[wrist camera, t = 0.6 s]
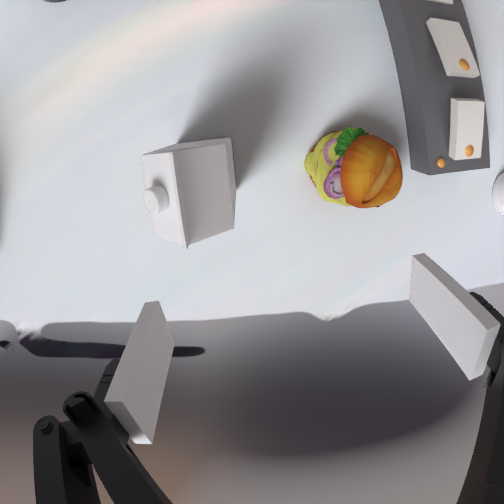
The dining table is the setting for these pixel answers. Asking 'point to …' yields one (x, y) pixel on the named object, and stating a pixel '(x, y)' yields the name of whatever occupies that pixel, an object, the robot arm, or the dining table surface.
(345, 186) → the cheeseburger
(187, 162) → the milk carton
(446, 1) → the rocker
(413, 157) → the power strip
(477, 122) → the rocker
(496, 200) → the bottle
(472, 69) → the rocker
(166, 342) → the robot arm
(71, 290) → the dining table surface
